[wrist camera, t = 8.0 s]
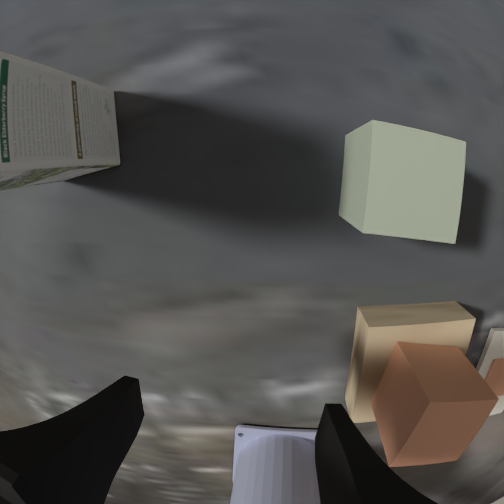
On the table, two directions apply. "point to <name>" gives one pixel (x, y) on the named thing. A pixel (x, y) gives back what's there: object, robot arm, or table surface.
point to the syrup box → (52, 125)
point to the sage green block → (402, 182)
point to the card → (494, 366)
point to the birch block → (402, 330)
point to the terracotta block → (429, 404)
